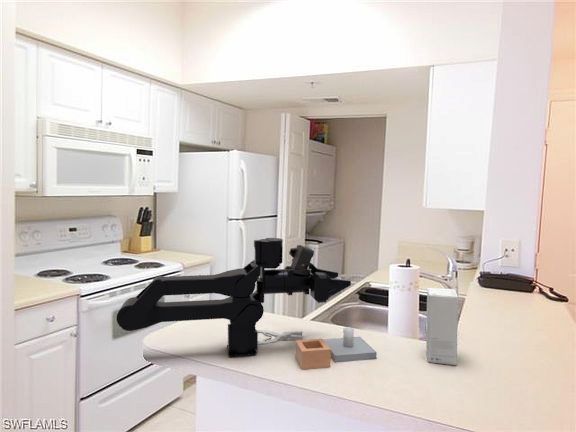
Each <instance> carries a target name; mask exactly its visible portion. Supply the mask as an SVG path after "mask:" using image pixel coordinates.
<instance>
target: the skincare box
mask: <svg viewBox="0 0 576 432" xmlns="http://www.w3.org/2000/svg"><path fill="white" fill-rule="evenodd" d="M458 310H459V296H458V294H457V292H456V289H454V288H440V287H438V288H437V287H427V291H426V356H427V357H426V358H427V362H428V363H434V364H441V365H450V366H457V364H458V324H459V323H458V321H459V319H458V316H459V314H458V313H459V311H458Z"/></svg>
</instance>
